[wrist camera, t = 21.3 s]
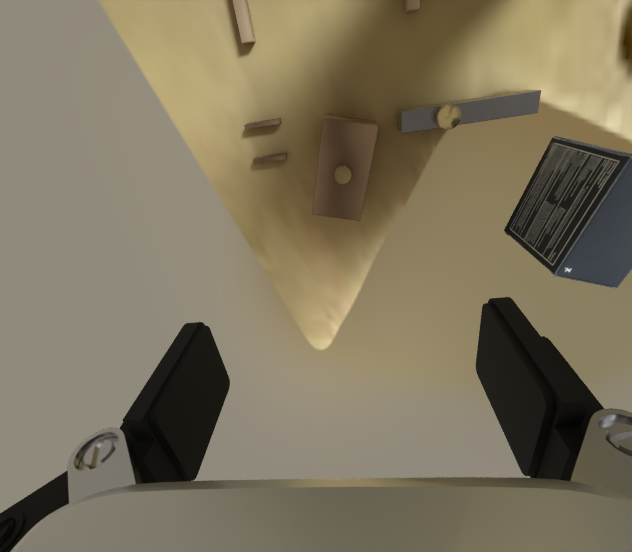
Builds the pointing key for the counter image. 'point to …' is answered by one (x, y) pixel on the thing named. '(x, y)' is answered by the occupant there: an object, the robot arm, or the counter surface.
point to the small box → (578, 213)
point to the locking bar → (469, 111)
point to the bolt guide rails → (246, 25)
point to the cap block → (343, 166)
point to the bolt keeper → (271, 157)
